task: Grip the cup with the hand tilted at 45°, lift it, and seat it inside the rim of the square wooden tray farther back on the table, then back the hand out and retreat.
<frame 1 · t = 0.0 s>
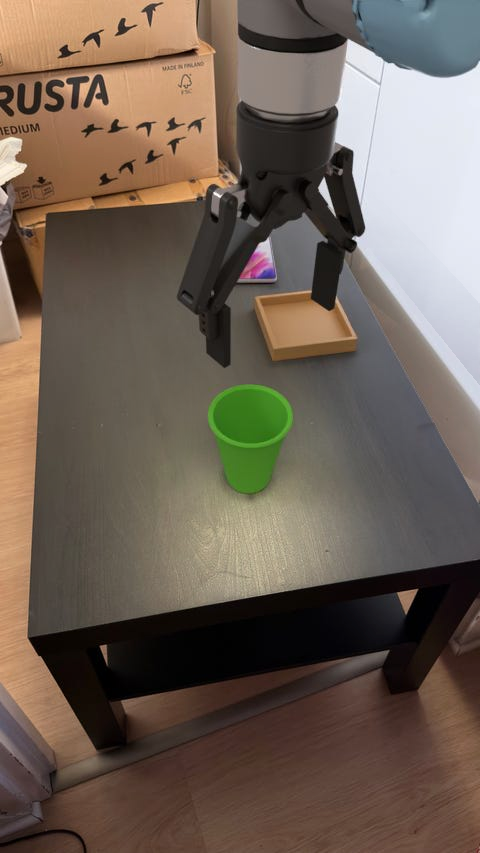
hand: (272, 330, 61), 20 cm above the table, tool pointing down, fingers open, 13 cm apart
cup: (248, 478, 74), on the table
square wooden tray: (303, 329, 92), on the table
smartphone: (251, 258, 105), on the table
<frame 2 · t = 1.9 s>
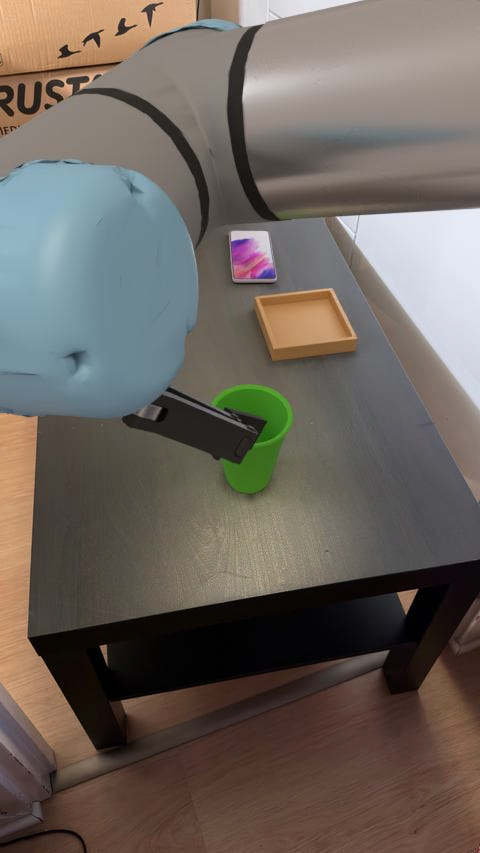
hand: (193, 392, 53), 22 cm above the table, tool tilted 45°, fingers open, 13 cm apart
nothing on the table moved.
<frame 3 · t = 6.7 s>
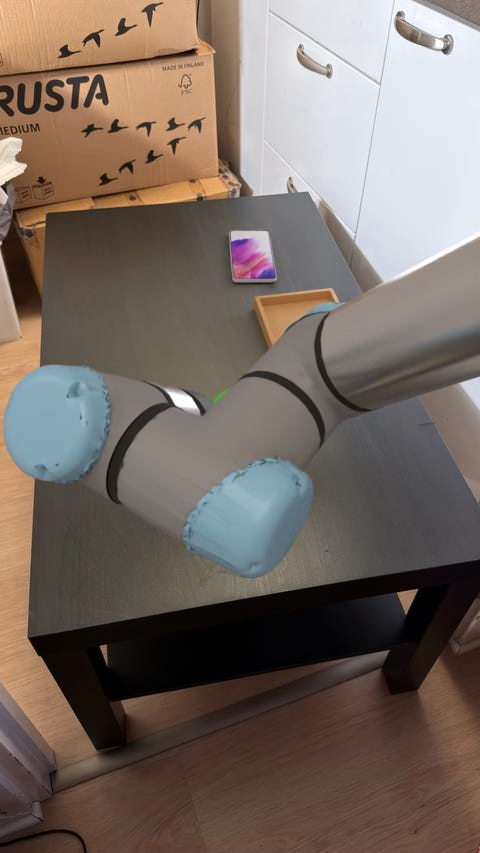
hand: (265, 439, 73), 4 cm above the table, tool tilted 45°, fingers closed on cup, 8 cm apart
cup: (248, 477, 74), on the table, touching gripper
everything else where it was.
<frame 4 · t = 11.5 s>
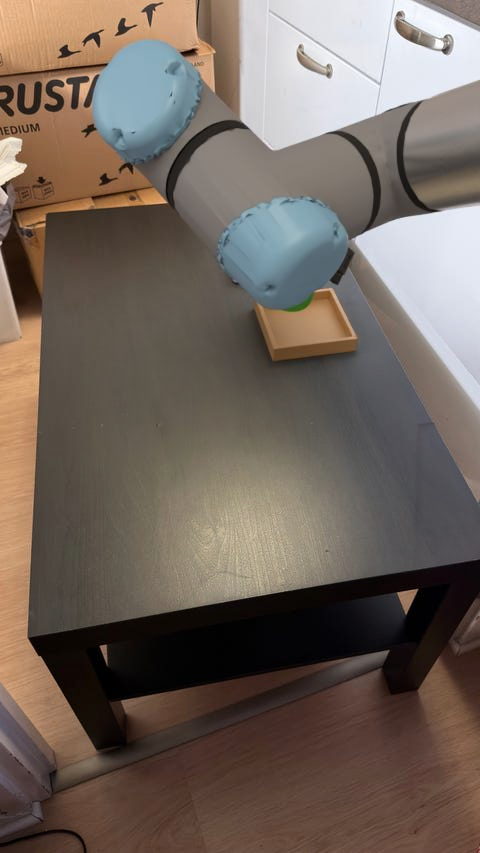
hand: (307, 260, 75), 17 cm above the table, tool tilted 45°, fingers closed on cup, 8 cm apart
cup: (290, 300, 76), point 13 cm above the table, touching gripper
everything else where it was.
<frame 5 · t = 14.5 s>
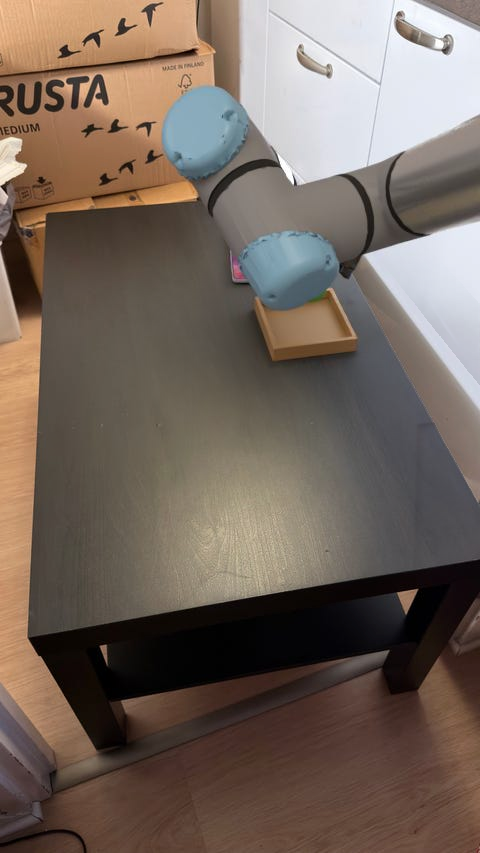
hand: (322, 258, 86), 10 cm above the table, tool tilted 45°, fingers closed on cup, 8 cm apart
cup: (307, 292, 87), point 7 cm above the table, touching gripper
everything else where it was.
when the fingers open (5 cm above the table, at t = 16.6 s): cup stays where it is, resting on square wooden tray.
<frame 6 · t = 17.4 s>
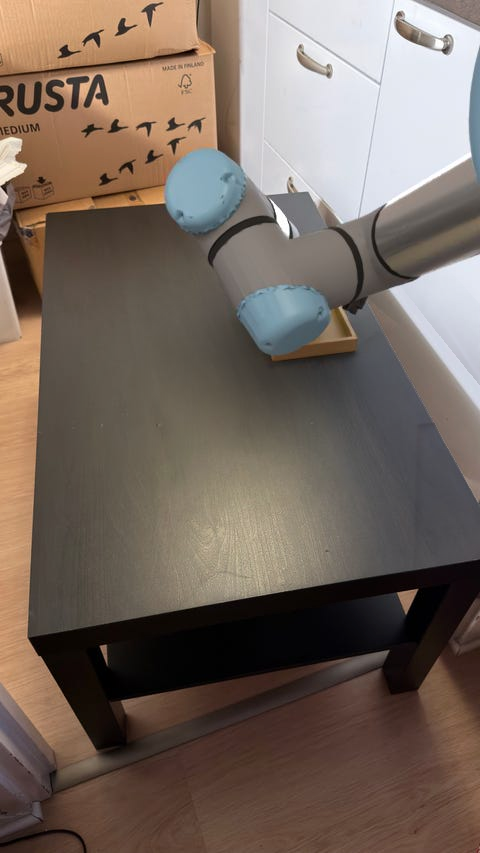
hand: (315, 287, 89), 6 cm above the table, tool tilted 45°, fingers open, 13 cm apart
cup: (303, 326, 92), point 1 cm above the table, touching square wooden tray
everything else where it was.
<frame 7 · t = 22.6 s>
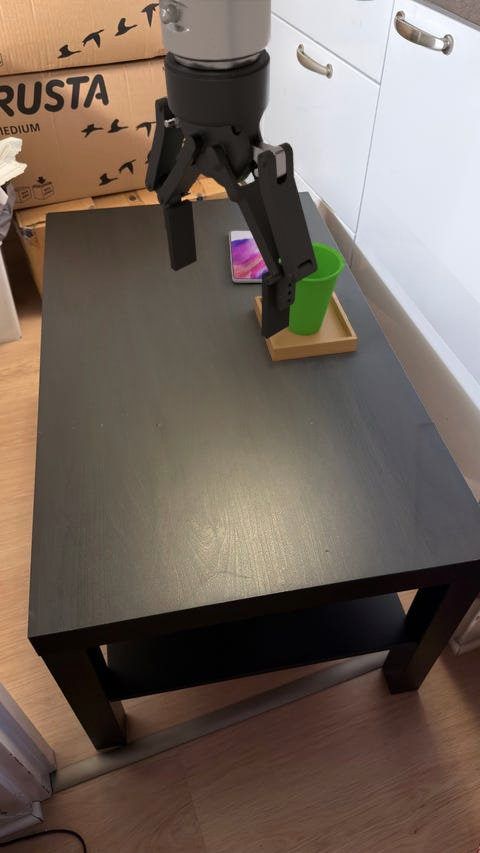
hand: (227, 296, 60), 23 cm above the table, tool pointing down, fingers open, 13 cm apart
nothing on the table moved.
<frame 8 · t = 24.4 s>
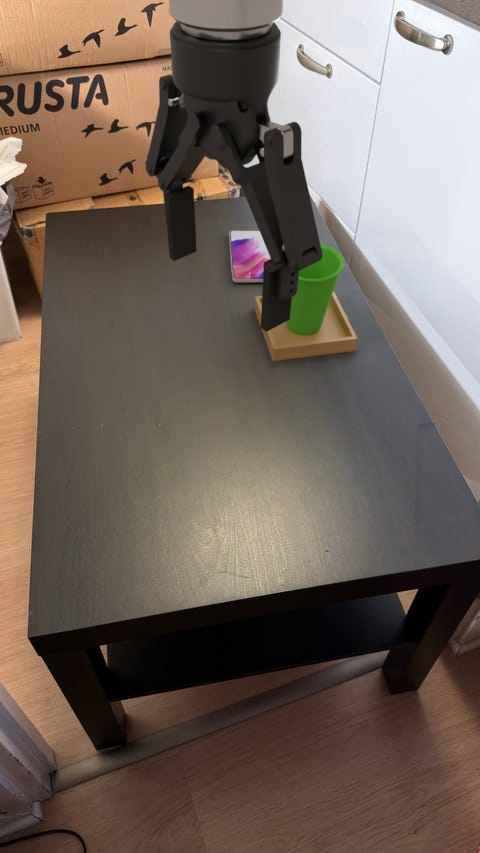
hand: (226, 287, 57), 25 cm above the table, tool pointing down, fingers open, 13 cm apart
nothing on the table moved.
at the end: cup 0.0 cm off-centre in the square wooden tray, point 0.6 cm above the square wooden tray's base; cup tilted 0°; the gripper is holding nothing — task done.
